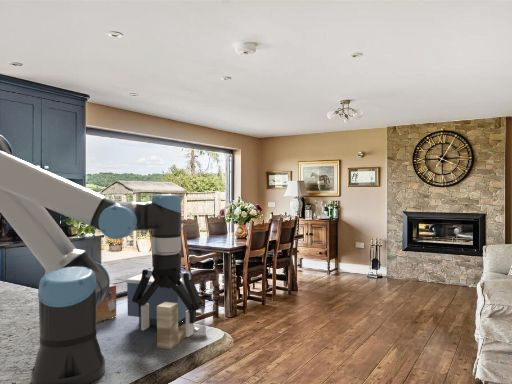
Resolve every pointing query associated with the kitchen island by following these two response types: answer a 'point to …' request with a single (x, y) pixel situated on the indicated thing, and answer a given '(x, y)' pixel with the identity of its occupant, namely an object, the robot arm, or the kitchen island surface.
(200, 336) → the steel token
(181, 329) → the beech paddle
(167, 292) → the navy cabinet
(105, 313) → the small box
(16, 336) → the kitchen island surface
